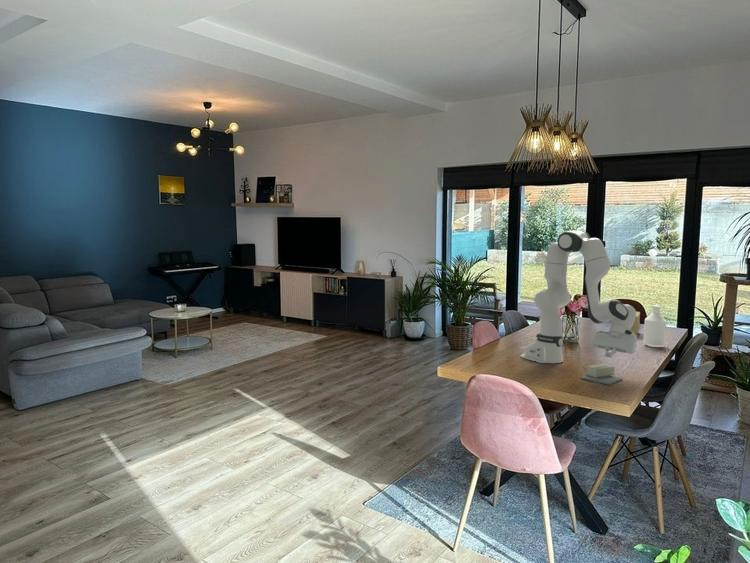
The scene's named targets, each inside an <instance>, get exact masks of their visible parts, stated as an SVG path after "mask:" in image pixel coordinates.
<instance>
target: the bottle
mask: <svg viewBox="0 0 750 563" xmlns="http://www.w3.org/2000/svg"><path fill="white" fill-rule="evenodd" d="M651 308H652V312H651V313H650V314H649V315H648V316H647V317H645V319H644V325H643V327H644V328H643V343H646V344H652V345H663V344H664V345H665V340H666V329H667V320H666V319H665V318H664V317H663V315H662V314H661V312H660V311H661V305H656V304H655V305H654V304H653V305H652V306H651Z"/></svg>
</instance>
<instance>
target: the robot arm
mask: <svg viewBox="0 0 750 563" xmlns="http://www.w3.org/2000/svg"><path fill="white" fill-rule="evenodd" d="M577 252H579V253H580V254H582V256H583V257H582V258H583V260H584V261H583V262H584V264H585V269H586V270H585V275H584V288H585V293H586V299H587V300H586V301H587V316H588V317H589V319H590V321H592V323H594V324H602V323H606V322H611V325H610V327H609V328H608V331H603V330H599V331H596V333H595V334H594V336H593V338H592V339H591V341H590V343H591V345H592V347H593V348H595V349H596V348H597V349H602V350H604V352H605V353H604V357H606V358H607V357H608V358H611V359H612V357H613V356H614V355H615V354H617V353H618V352H619V353H625V354H629V355H632V354H634V353H635V352H636V349H637V342H638V336H637V337H636V335H635V333H634V332H632V331H630V328H631V327H632V325H633V323H634V321H635V317H636V312H637V310H636V308H634V306H632V305H630V304H626V303H625V304H624V303H622V302H621V301H619V300H618V299H610V300H606V301H603V302H601V301H600V300H601V299H600V294H599V283H600V282H601V281H602V280H603V278H604V277H605V276H607V275H608V273H609V271H610V269H611V262H610V259H609V256H608V252H607V250H606V248H605V245H604V243H603V242H602V240H601V239H600V238H597V237H591V235H590V234H589V233H588V232H586V231H584V230H578V229H573V230H565V231H562V232H561V233H560V234H559V236H558V237H557V241H555V242H552V243H550V245H549V246H548V248H547V253H546V256H545V266H544V274H543V276H544V279H546V280H545V281H546V285H547V289H542V290H540V291H539V292H538V293H536V295H535V296H534V300H533V301H534V305H535V306H536V308H537V310H538V313H539V317H540V318H539V319H540V326H539V327H540V328H539V330H540V331H539V333H537V334H536V335H535V338H536V340H534V341H532V342H530V344H528V345H527V346H526V347H525V351H524V353H522V354H520V358H522V359H526V360H529V361H532V362H535V361H536V362H535V363H539V364H561V362H562V363H564V358H563V351H562V350H563V349H562V346H563V335H562V334H563V333H562V332H563V331H562V330H563V320H562V319H561V316H560V312H559V309H561V308H563V307H565V306H567V305H568V304H569V303H570V301H571V294H570V292H569V290H568V284H567V272H568V265H569V263H568V262H569V256H570V254H571V253H577ZM610 351H611V352H610Z"/></svg>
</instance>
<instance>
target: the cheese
mask: <svg viewBox="0 0 750 563" xmlns="http://www.w3.org/2000/svg"><path fill="white" fill-rule="evenodd" d="M640 318H641V312H640V311H636V317H635V321H634V323H633V325H632V327H631V328H630V331H632V332H634V333H635V335H637V336H638V334H639V333H638V331H639V332H640V321H641V320H640ZM637 333H638V334H637Z"/></svg>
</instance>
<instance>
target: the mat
mask: <svg viewBox="0 0 750 563" xmlns="http://www.w3.org/2000/svg"><path fill="white" fill-rule="evenodd" d="M580 378H581V379H580V380H583V379H585V380H584V381H588V380H589V382H592V381H594V382H593V383H596V382H598V383H597V384H601V383H602V384H601V385H605V384H607V385H606V386H609V385H610V386H612V385H615V384H617V383H619V382H621V381H620V380H622V379H623V380H624V378H623V377H618V376H615V375H612V376H605V377H597V378H595V377H592V376H589V375H583V376H580ZM623 380H622V381H623ZM618 381H619V382H618ZM616 382H617V383H616ZM614 383H615V384H614ZM611 384H612V385H611Z"/></svg>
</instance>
